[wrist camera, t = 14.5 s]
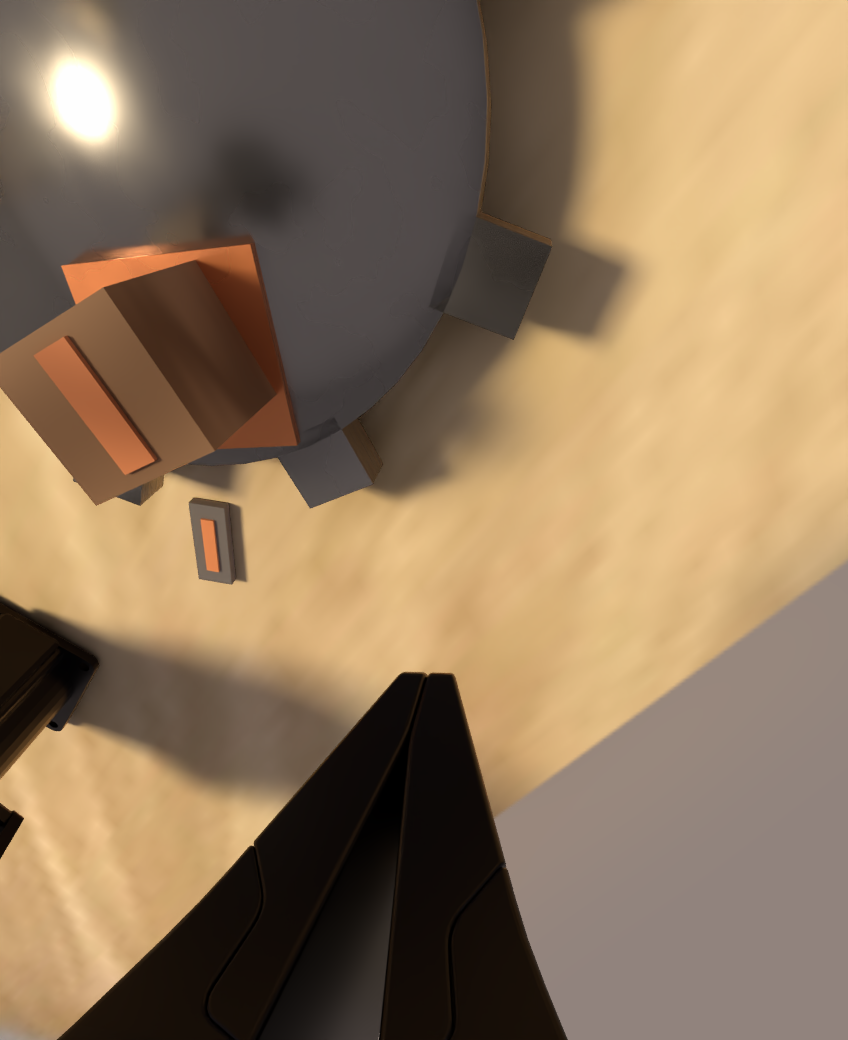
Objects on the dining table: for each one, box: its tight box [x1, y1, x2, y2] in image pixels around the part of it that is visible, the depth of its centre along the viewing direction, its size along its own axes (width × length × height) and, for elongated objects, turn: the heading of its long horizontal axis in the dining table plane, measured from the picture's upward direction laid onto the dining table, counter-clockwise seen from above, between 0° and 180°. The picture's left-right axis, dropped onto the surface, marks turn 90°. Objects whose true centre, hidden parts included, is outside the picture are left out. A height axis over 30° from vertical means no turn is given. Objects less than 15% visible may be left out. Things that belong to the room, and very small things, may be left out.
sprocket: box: [0, 0, 552, 508], centre depth 13 cm, size 22×22×6 cm
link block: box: [0, 260, 277, 506], centre depth 16 cm, size 4×4×4 cm
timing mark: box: [189, 498, 236, 584], centre depth 24 cm, size 4×1×1 cm, turn 175°
